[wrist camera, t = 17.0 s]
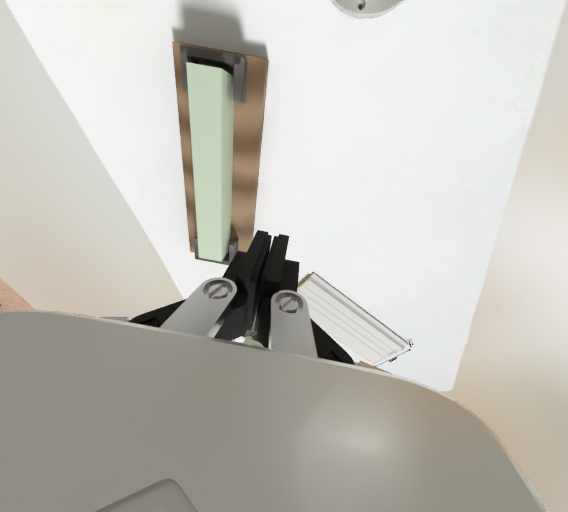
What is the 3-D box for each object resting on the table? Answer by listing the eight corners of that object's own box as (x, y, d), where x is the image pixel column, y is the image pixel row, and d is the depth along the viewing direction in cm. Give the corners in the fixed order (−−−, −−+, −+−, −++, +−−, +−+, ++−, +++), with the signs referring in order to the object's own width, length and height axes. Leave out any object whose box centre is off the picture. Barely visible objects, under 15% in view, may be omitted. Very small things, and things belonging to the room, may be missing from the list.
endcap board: (178, 45, 28) (158, 32, 24) (268, 61, 28) (262, 51, 24) (193, 248, 44) (182, 259, 41) (251, 258, 44) (245, 271, 41)
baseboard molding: (318, 266, 45) (282, 298, 50) (318, 274, 42) (280, 307, 48) (412, 338, 52) (372, 359, 58) (417, 349, 50) (375, 369, 55)
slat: (204, 71, 28) (186, 62, 24) (234, 77, 28) (221, 68, 24) (210, 244, 42) (198, 257, 38) (230, 247, 42) (221, 261, 38)
